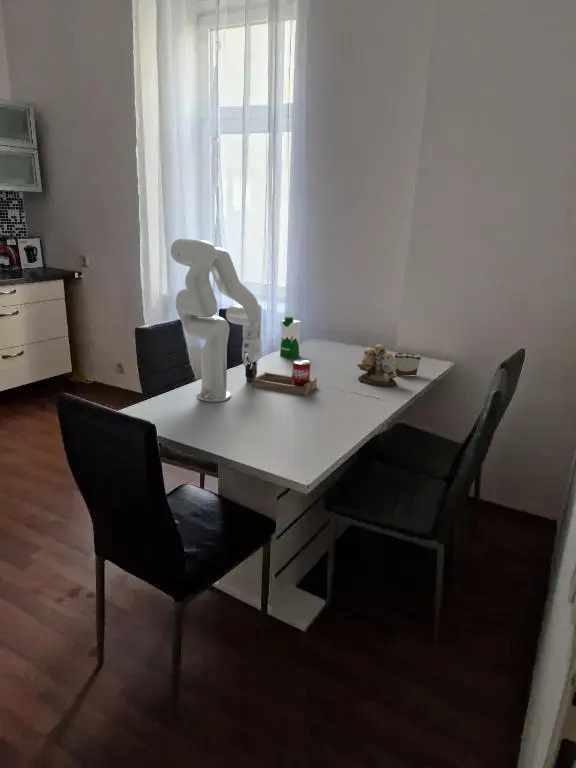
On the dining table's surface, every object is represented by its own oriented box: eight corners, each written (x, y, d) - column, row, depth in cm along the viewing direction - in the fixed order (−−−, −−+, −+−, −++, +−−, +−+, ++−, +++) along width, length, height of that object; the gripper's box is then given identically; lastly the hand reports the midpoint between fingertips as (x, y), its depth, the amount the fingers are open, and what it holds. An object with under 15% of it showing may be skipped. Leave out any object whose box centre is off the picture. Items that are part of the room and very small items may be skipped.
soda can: (306, 393, 212) (308, 365, 208) (289, 391, 214) (290, 363, 210) (311, 388, 219) (312, 360, 215) (294, 386, 221) (295, 358, 217)
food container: (417, 373, 246) (420, 352, 243) (419, 377, 240) (421, 355, 237) (390, 371, 247) (392, 350, 244) (392, 375, 241) (394, 354, 238)
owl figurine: (352, 383, 228) (355, 344, 223) (360, 376, 239) (363, 339, 234) (393, 389, 221) (397, 350, 216) (399, 382, 232) (403, 344, 227)
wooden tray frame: (305, 395, 209) (306, 378, 207) (241, 384, 219) (241, 368, 217) (316, 387, 220) (317, 370, 218) (254, 376, 230) (254, 361, 228)
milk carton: (277, 356, 266) (278, 317, 259) (287, 352, 273) (288, 314, 267) (292, 359, 261) (294, 319, 255) (301, 355, 269) (303, 316, 262)
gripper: (251, 338, 209) (250, 382, 215) (268, 331, 223) (267, 372, 229) (234, 336, 212) (234, 380, 217) (252, 329, 226) (251, 370, 232)
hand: (251, 375), depth 223 cm, fingers closed on wooden tray frame, 3 cm apart
